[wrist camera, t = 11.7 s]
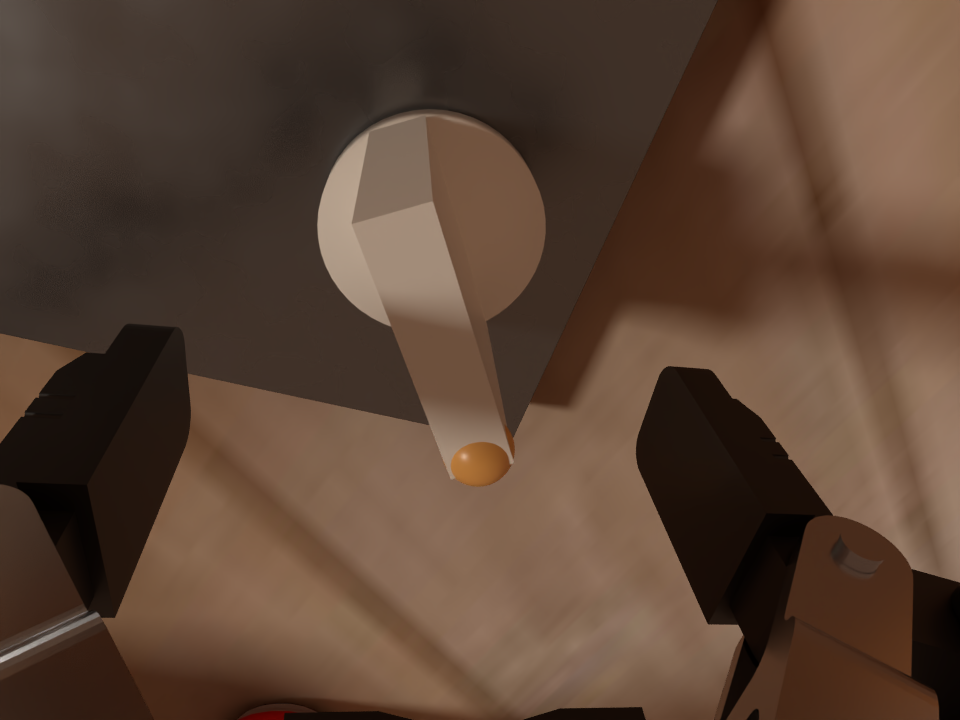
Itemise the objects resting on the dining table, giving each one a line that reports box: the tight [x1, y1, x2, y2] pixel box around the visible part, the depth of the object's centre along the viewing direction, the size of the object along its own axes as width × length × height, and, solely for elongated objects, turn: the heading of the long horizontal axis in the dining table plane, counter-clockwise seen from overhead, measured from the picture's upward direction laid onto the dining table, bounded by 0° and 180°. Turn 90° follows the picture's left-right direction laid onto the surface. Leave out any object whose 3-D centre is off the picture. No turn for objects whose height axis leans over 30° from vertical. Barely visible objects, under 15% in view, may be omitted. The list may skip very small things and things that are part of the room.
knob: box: [317, 109, 546, 487], centre depth 16 cm, size 7×6×7 cm
